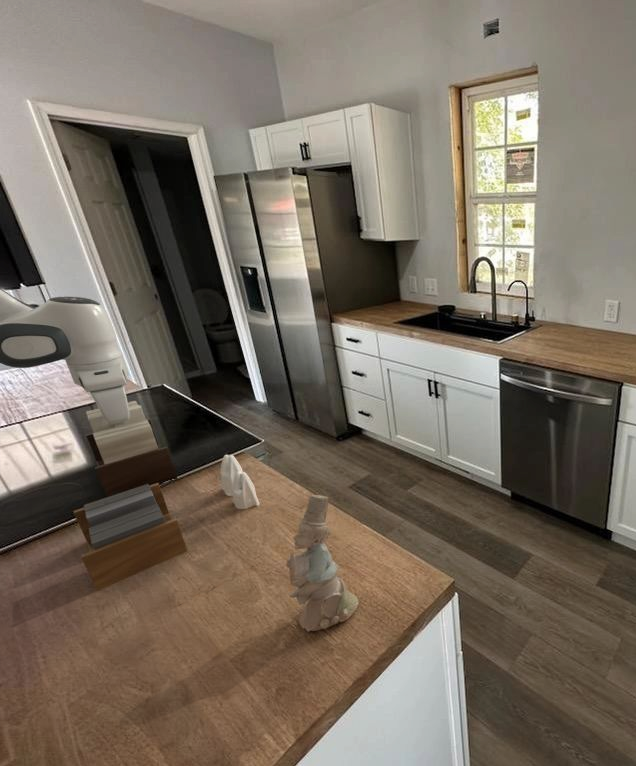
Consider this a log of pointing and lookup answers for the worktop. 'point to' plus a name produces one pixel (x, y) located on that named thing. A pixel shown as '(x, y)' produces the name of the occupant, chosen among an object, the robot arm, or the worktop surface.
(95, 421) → the white book
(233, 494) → the shaker set
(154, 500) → the coaster holder
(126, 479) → the brown wooden crate
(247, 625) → the worktop surface
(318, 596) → the figurine
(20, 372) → the worktop surface
